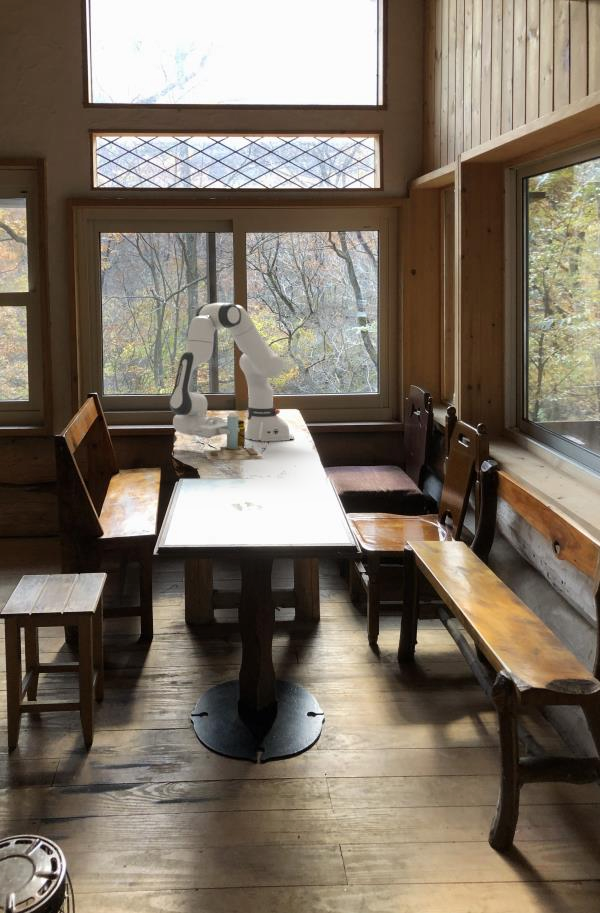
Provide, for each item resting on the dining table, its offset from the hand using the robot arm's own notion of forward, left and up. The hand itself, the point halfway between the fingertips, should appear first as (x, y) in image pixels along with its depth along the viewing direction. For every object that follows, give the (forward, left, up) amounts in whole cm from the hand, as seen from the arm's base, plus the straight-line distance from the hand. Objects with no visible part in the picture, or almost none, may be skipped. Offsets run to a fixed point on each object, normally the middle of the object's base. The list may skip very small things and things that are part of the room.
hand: (234, 431), depth 374 cm
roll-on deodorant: (+1, -1, -7) cm, 7 cm away
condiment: (-4, -17, -11) cm, 20 cm away
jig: (0, -1, -10) cm, 11 cm away
